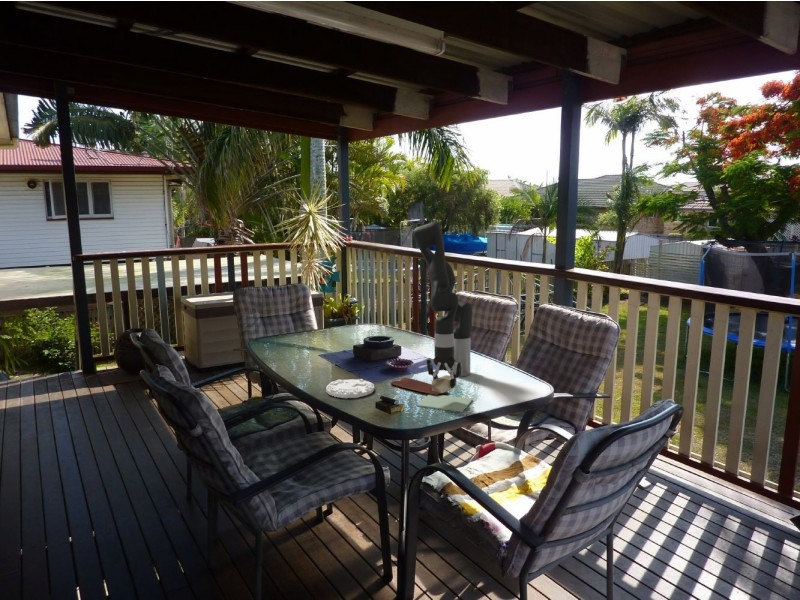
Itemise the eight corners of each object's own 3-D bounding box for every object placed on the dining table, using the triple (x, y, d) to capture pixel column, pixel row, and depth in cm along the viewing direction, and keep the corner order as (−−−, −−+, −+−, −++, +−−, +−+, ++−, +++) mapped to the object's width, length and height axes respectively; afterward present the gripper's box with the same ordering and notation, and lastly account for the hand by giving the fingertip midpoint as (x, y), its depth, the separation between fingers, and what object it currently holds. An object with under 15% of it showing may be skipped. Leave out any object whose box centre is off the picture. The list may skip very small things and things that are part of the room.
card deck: (431, 390, 223) (431, 380, 222) (446, 384, 230) (446, 375, 229) (442, 393, 220) (442, 382, 219) (456, 387, 226) (456, 377, 226)
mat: (429, 395, 235) (429, 393, 235) (472, 400, 229) (472, 398, 228) (417, 406, 223) (417, 405, 223) (462, 412, 216) (462, 410, 216)
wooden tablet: (388, 385, 249) (388, 381, 249) (404, 379, 256) (404, 376, 256) (434, 397, 231) (434, 393, 231) (451, 391, 238) (450, 387, 237)
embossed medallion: (383, 391, 243) (383, 384, 242) (347, 403, 229) (347, 396, 229) (353, 381, 257) (353, 375, 256) (316, 391, 243) (316, 385, 243)
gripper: (423, 344, 221) (423, 387, 224) (459, 348, 216) (459, 391, 218) (430, 340, 228) (430, 381, 231) (465, 343, 222) (465, 385, 225)
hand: (444, 386), depth 225 cm, fingers closed on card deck, 6 cm apart
